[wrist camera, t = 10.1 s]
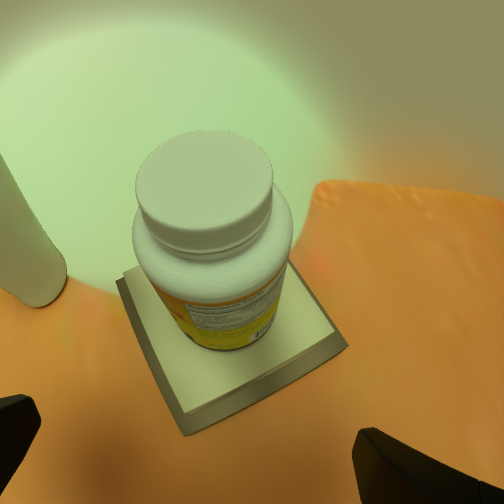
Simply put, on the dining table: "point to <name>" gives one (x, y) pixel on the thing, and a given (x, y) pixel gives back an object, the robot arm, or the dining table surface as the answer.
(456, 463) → the dining table surface
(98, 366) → the dining table surface
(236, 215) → the supplement bottle
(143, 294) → the stand
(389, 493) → the robot arm
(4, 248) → the drinking glass
